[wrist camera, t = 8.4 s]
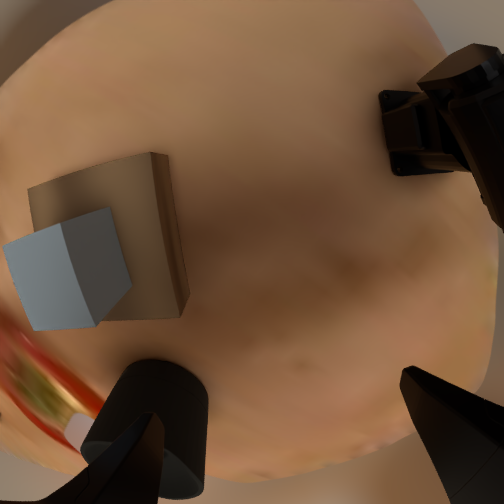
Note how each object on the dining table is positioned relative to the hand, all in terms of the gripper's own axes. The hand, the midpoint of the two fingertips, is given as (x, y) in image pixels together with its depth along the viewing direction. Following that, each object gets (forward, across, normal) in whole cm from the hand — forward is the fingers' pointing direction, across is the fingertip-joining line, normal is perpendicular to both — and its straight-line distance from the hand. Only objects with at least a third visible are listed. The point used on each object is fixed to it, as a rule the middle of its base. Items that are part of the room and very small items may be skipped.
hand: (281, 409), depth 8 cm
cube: (+8, +10, -5) cm, 14 cm away
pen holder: (+12, +11, +10) cm, 19 cm away
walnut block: (+12, +10, -5) cm, 17 cm away
